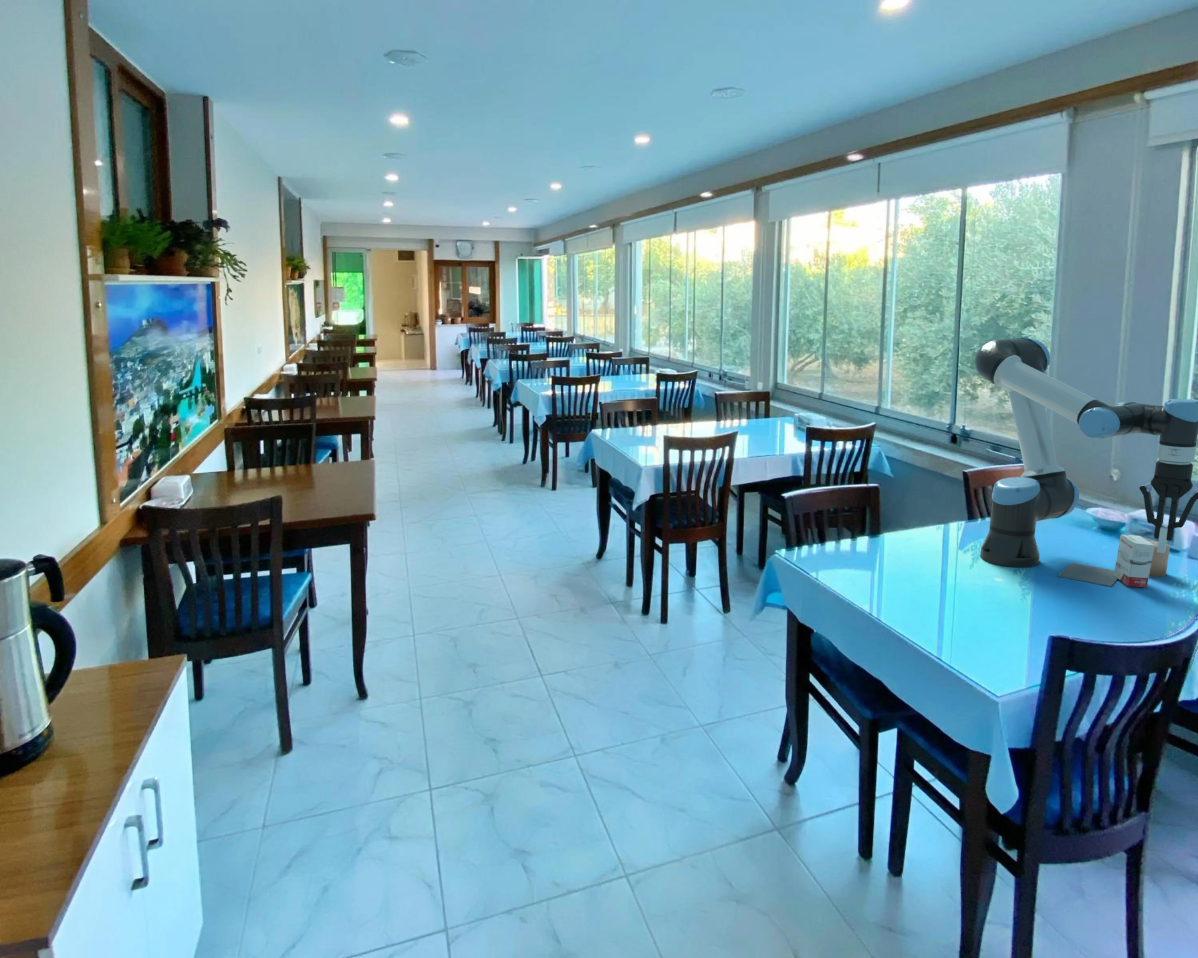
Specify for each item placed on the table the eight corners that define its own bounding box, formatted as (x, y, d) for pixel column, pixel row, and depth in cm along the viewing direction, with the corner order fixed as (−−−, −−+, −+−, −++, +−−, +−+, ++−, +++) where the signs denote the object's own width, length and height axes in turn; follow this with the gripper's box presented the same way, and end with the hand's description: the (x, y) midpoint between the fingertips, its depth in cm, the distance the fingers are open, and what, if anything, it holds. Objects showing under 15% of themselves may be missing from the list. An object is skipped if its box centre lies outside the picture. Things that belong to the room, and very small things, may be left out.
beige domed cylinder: (1132, 573, 209) (1135, 545, 208) (1137, 566, 214) (1141, 539, 212) (1163, 578, 205) (1167, 550, 203) (1168, 572, 209) (1172, 544, 208)
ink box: (1148, 588, 198) (1156, 545, 195) (1127, 586, 199) (1135, 543, 196) (1132, 576, 206) (1140, 534, 203) (1112, 574, 207) (1120, 533, 204)
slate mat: (1057, 576, 208) (1057, 575, 208) (1071, 563, 218) (1071, 562, 218) (1111, 586, 200) (1111, 585, 200) (1123, 573, 210) (1123, 571, 209)
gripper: (1140, 460, 193) (1128, 549, 199) (1205, 467, 184) (1190, 560, 190) (1146, 456, 199) (1134, 543, 204) (1209, 462, 190) (1195, 553, 195)
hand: (1161, 551), depth 197 cm, fingers closed
